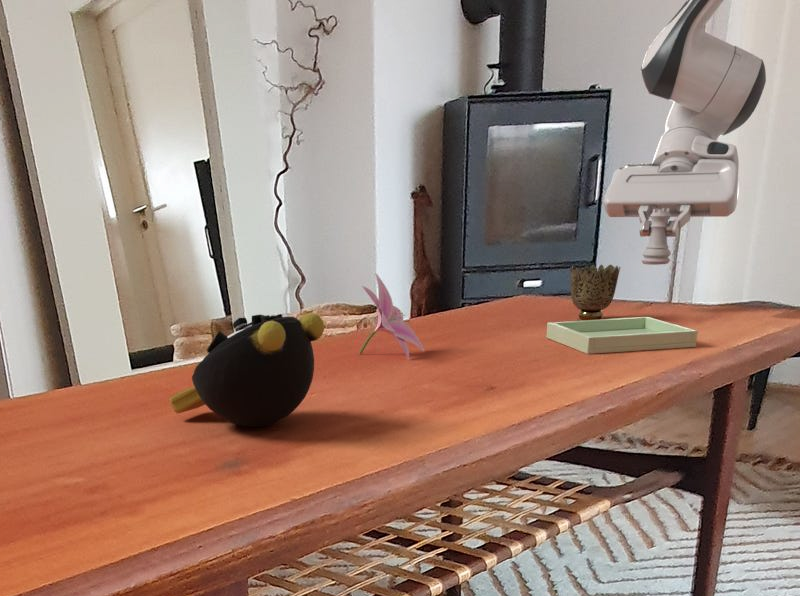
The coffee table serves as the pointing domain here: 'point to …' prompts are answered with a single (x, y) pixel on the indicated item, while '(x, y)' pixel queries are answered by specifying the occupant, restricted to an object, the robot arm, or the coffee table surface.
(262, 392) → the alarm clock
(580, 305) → the cup
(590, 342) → the game tray
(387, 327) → the lily
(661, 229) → the rook chess piece
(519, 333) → the coffee table surface
